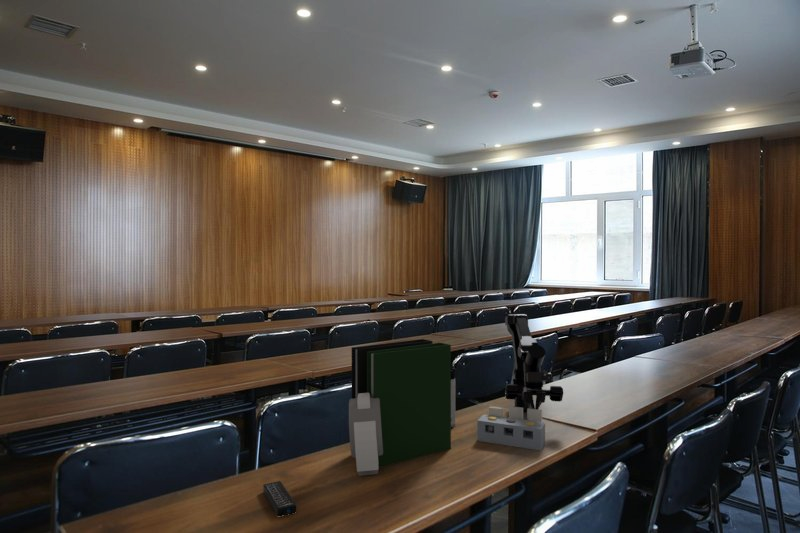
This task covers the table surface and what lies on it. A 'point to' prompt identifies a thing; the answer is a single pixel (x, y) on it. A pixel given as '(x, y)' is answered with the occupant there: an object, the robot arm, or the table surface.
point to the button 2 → (515, 413)
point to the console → (511, 432)
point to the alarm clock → (365, 433)
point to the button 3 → (534, 416)
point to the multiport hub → (279, 498)
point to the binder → (407, 395)
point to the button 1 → (494, 414)
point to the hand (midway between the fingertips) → (535, 415)
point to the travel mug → (453, 397)
